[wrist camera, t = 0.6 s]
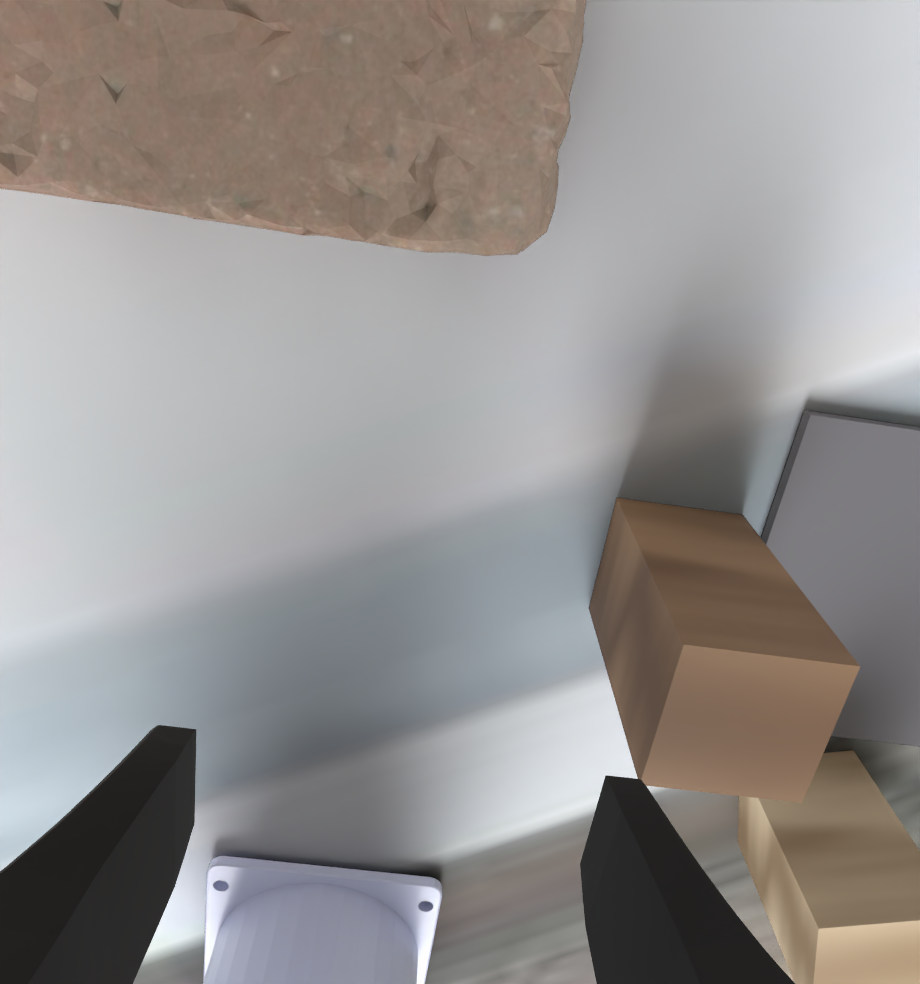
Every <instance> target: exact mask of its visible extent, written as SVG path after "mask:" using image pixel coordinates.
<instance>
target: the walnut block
mask: <svg viewBox="0 0 920 984" xmlns="http://www.w3.org/2000/svg"><path fill="white" fill-rule="evenodd" d="M589 611H590V614H591V618H592V621H593V624H594V628H595V631H596V635H597V638H598V642H599V645H600V649H601V652H602V656H603V659H604V663H605V666H606V670H607V673H608V676H609V680H610V683H611V687H612V690H613V694H614V697H615V701H616V704H617V708H618V711H619V715H620V718H621V722H622V725H623V729H624V732H625V735H626V739H627V742H628V746H629V749H630V753H631V756H632V760H633V763H634V767H635V770H636V774H637V777H638V779H641V780H642V781H643V783H644V784H645V785H647V786H656V787H664V788H673V789H682V790H691V791H700V792H709V793H718V794H727V795H736V796H745V797H753V798H762V799H771V800H780V801H789V802H798V803H802V802H803V800H804V797H805V795H806V793H807V790H808V788H809V786H810V783H811V781H812V779H813V776H814V774H815V772H816V769H817V767H818V765H819V762H820V760H821V758H822V755H823V753H824V751H825V748H826V746H827V744H828V741H829V739H830V737H831V734H832V732H833V729H834V727H835V725H836V722H837V720H838V718H839V715H840V713H841V711H842V708H843V706H844V704H845V701H846V699H847V697H848V694H849V692H850V690H851V687H852V685H853V683H854V680H855V678H856V676H857V673H858V671H859V669H860V665H859V664H858V663H857V662H856V660H855V659H854V658H853V656H852V655H851V654H850V653H849V651H848V650H847V649H846V647H845V646H844V645H843V644H842V642H841V641H840V640H839V638H838V637H837V636H836V634H835V633H834V632H833V631H832V629H831V628H830V627H829V625H828V624H827V623H826V622H825V620H824V619H823V618H822V616H821V615H820V614H819V613H818V611H817V610H816V609H815V607H814V606H813V605H812V604H811V602H810V601H809V600H808V598H807V597H806V596H805V595H804V593H803V592H802V591H801V589H800V588H799V587H798V585H797V584H796V583H795V582H794V580H793V579H792V578H791V576H790V575H789V574H788V573H787V571H786V570H785V569H784V567H783V566H782V565H781V564H780V562H779V561H778V560H777V558H776V557H775V556H774V555H773V553H772V552H771V551H770V549H769V548H768V547H767V546H766V544H765V543H764V542H763V540H762V539H761V538H760V536H759V535H758V534H757V533H756V531H755V530H754V529H753V527H752V526H751V525H750V524H749V522H748V521H747V520H746V518H745V517H744V516H743V515H740V514H733V513H726V512H718V511H711V510H704V509H696V508H689V507H682V506H674V505H667V504H660V503H652V502H645V501H638V500H630V499H623V498H616V502H615V506H614V510H613V514H612V518H611V522H610V526H609V530H608V534H607V538H606V542H605V546H604V550H603V554H602V558H601V562H600V566H599V570H598V574H597V578H596V582H595V586H594V590H593V594H592V598H591V602H590V606H589Z"/></svg>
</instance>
